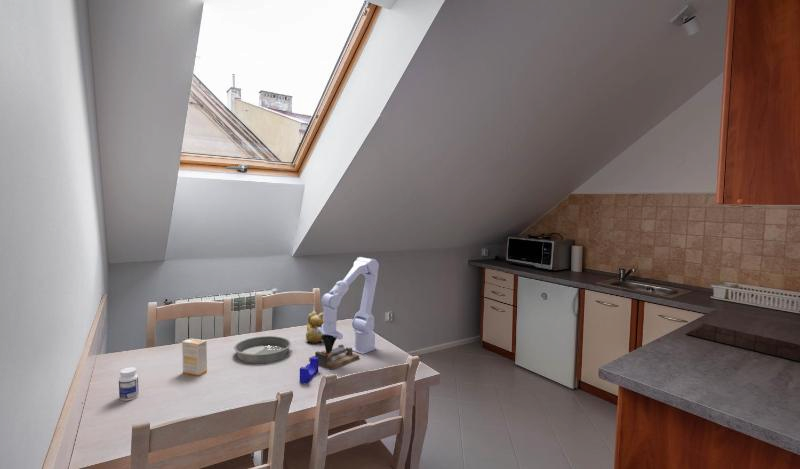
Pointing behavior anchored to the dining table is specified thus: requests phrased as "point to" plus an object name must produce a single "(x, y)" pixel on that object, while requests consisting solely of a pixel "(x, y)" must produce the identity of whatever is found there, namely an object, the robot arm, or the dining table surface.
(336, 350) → the tan and grey block
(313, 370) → the cable clip
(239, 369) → the dining table surface
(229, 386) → the dining table surface
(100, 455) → the dining table surface
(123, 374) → the pill bottle
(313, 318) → the decorative figurine
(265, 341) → the cake pan
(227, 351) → the dining table surface
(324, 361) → the clamp board
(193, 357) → the supplement box
